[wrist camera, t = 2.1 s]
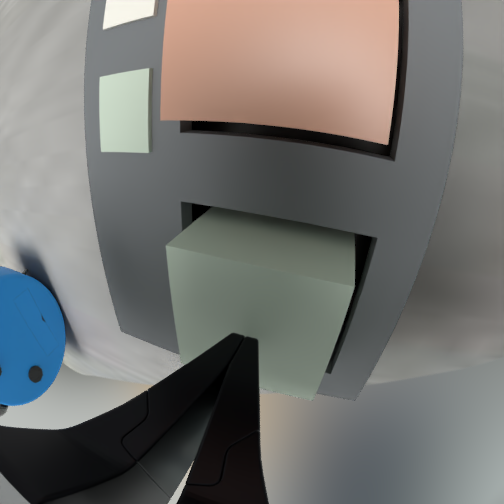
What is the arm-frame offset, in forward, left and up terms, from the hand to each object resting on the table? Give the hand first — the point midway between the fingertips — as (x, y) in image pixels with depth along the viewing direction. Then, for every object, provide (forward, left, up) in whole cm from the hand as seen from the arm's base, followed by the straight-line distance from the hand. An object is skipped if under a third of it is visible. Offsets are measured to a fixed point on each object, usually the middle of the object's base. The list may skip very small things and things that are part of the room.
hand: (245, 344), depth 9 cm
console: (+2, -9, -6) cm, 11 cm away
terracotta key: (0, -9, -4) cm, 10 cm away
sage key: (0, 0, -4) cm, 4 cm away
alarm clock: (+24, +12, -7) cm, 28 cm away
